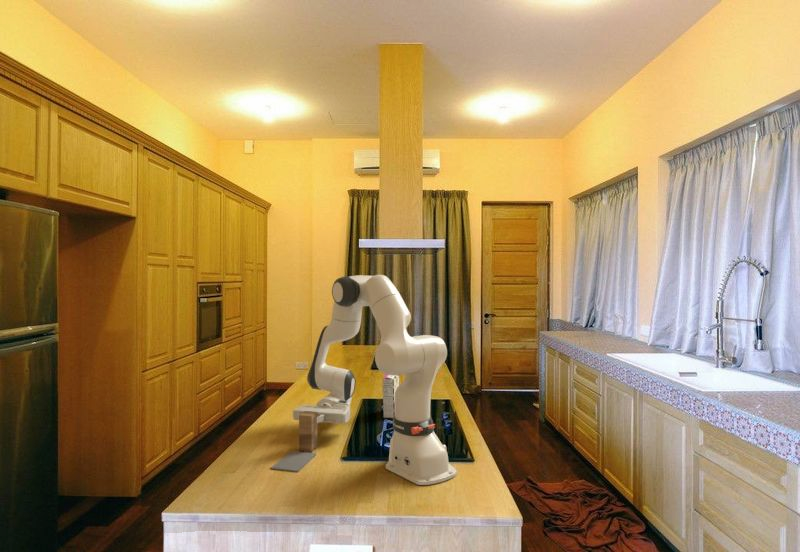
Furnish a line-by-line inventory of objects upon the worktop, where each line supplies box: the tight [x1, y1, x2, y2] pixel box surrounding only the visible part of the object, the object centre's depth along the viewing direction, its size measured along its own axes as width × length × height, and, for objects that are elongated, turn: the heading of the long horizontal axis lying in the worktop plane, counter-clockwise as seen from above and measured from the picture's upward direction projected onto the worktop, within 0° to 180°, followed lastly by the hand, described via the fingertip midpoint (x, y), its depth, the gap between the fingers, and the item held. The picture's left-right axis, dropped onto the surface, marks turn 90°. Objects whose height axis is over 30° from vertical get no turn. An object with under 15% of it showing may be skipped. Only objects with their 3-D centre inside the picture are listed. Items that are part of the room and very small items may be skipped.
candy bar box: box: [382, 375, 400, 419], centre depth 185 cm, size 11×5×16 cm, turn 168°
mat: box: [270, 450, 317, 473], centre depth 139 cm, size 13×9×1 cm
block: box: [298, 411, 318, 453], centre depth 149 cm, size 5×4×12 cm
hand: (312, 421), depth 151 cm, fingers closed
